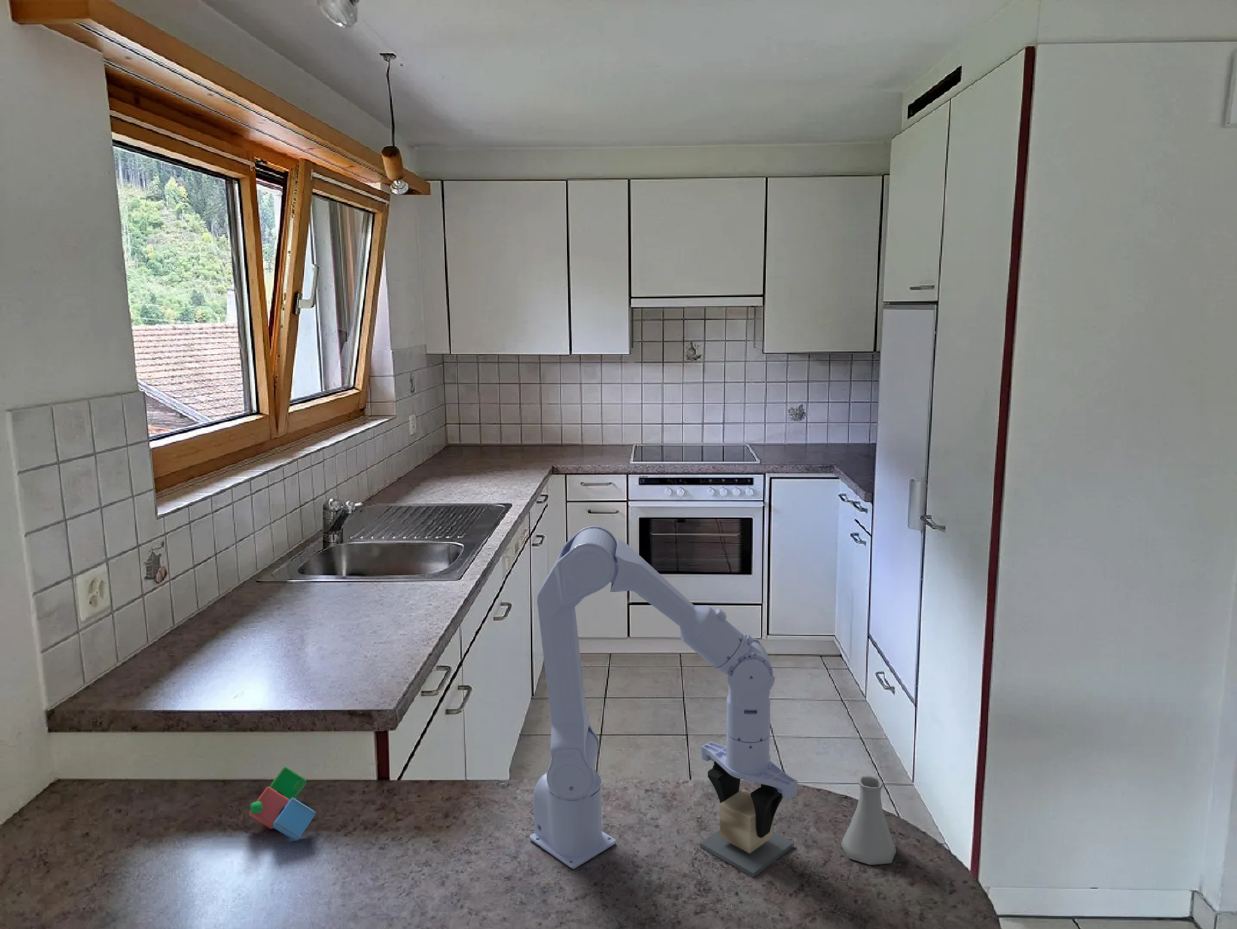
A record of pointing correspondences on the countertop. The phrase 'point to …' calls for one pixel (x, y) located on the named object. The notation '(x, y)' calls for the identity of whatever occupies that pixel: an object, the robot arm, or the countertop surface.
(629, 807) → the countertop surface
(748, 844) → the block
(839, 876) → the countertop surface
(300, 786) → the building blocks
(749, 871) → the coaster
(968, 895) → the countertop surface
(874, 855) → the flask
